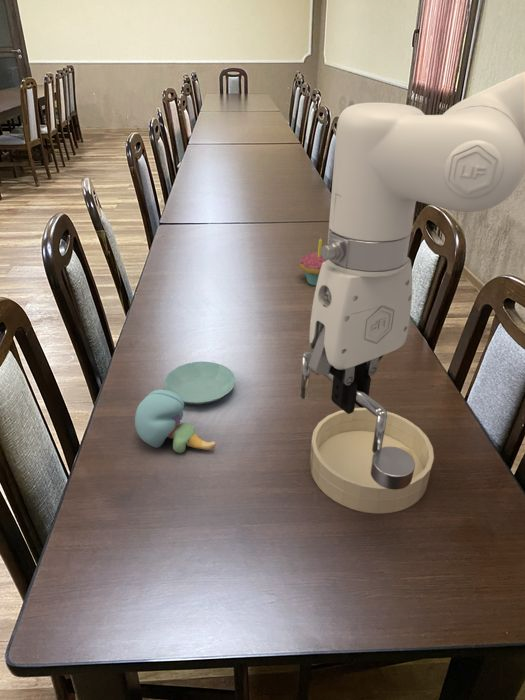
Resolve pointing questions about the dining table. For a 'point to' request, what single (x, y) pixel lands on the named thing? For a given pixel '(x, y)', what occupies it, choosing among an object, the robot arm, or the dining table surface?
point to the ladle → (374, 440)
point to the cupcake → (312, 265)
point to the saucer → (200, 382)
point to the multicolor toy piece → (166, 422)
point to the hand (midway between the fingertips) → (348, 403)
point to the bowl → (366, 460)
